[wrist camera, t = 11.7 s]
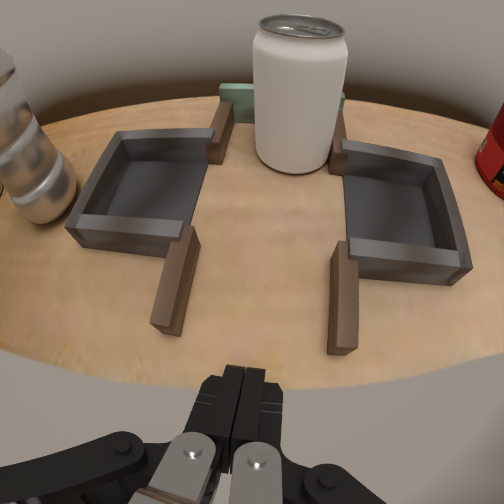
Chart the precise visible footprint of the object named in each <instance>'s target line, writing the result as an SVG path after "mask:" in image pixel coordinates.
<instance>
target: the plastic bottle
mask: <svg viewBox="0 0 504 504" xmlns="http://www.w3.org/2000/svg"><path fill="white" fill-rule="evenodd" d="M0 181H1V183H2V184H3V186H4V187H5V189H6V190H7V191H8V193H9V195H10V197H11V199H12V201H13V203H14V205H15V206H16V208H17V209H18V211H19V212H20V213H21V215H22V216H24V217H25V218H27V219H28V220H30V221H31V222H33V223H37V224H44V223H49V222H52V221H54V220H55V219H57V218H58V217H60V216H61V215H62V214H63V213H64V212H65V211H66V210H67V208H68V207H69V206H70V204H71V203H72V201H73V199H74V196H75V193H76V185H77V179H76V175H75V173H74V170H73V167H72V165H71V163H70V162H69V161H68V160H67V158H66V157H65V156H64V155H63V154H62V153H61V152H60V151H59V150H58V149H57V148H55V146H54V145H53V144H52V142H51V141H50V140H49V138H48V137H47V135H46V134H45V133H44V131H43V130H42V129H41V127H40V126H39V125H38V122H37V121H36V118H35V116H34V115H33V114H32V110H31V108H30V106H29V104H28V102H27V99H26V97H25V94H24V91H23V88H22V85H21V81H20V78H19V75H18V71H17V70H16V65H15V62H14V59H13V57H12V56H11V55H10V54H9V53H8V52H7V51H6V50H4V49H2V48H0Z"/></svg>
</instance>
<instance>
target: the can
mask: <svg viewBox="0 0 504 504" xmlns="http://www.w3.org/2000/svg"><path fill="white" fill-rule="evenodd" d="M259 26H260V29H259V31H258V33H257V34H256V36H255V38H254V41H253V72H254V73H253V76H254V110H255V140H256V151H257V154H258V156H259V157H260V159H261V160H262V161H263V162H264V163H265V164H267V165H268V166H270V167H271V168H273V169H275V170H277V171H280V172H283V173H288V174H304V173H308V172H311V171H314V170H316V169H318V168H320V167H321V166H322V165H323V164H324V163H325V162H326V161H327V159H328V156H329V152H330V148H331V143H332V139H333V134H334V129H335V124H336V119H337V114H338V109H339V104H340V99H341V94H342V88H343V82H344V77H345V70H346V65H347V57H348V49H347V46H346V43H345V41H344V38H343V35H344V34H345V30H344V28H343V27H341V26H340V25H338V24H336V23H334V22H332V21H329V20H326V19H323V18H319V17H314V16H308V15H298V14H283V15H282V14H281V15H274V16H268V17H265V18H263V19H261V20H260V21H259Z"/></svg>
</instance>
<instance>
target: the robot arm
mask: <svg viewBox="0 0 504 504" xmlns="http://www.w3.org/2000/svg"><path fill="white" fill-rule="evenodd" d="M2 189H3V184H2V183H1V181H0V194H1V192H2ZM245 370H246V373H245ZM265 370H266V369H260V368H251V367H247V368H246V367H242V366H234V365H226V367H225V370H224V373H223V377H220V376H214V375H211V376H210V377H208V378H207V379H206V380H205V381H204V382H203V383H202V385H201V388H200V391H199V394H198V396H197V398H196V402H195V403H194V406H193V408H192V411H191V414H190V416H189V419H188V421H187V424H186V426H185V429H184V431H183V433H182V434H180V435H178V436H176V437H175V438H174V439H173V440H172V441H170V442H167V443H143V442H142V440H141V439H140V438H139V437H138V436H136V435H135V434H133V433H130V432H125V431H120V432H114V433H111V434H109V435H106V436H104V437H101V438H98V439H96V440H93V441H90V442H87V443H84V444H81V445H78V446H76V447H72V448H69V449H66V450H63V451H60V452H57V453H54V454H51V455H47V456H43V457H40V458H37V459H33V460H29V461H25V462H21V463H17V464H13V465H9V466H4V467H0V504H212V502H213V500H214V497H215V494H216V491H217V487H218V484H219V480H220V476H221V473H227V474H228V471H229V467H230V474H232V480H231V489H230V498H229V504H386V503H385V502H384V501H383V500H381V499H380V498H378V497H377V496H376V495H375V494H373V493H372V492H371V491H370V490H369V489H367V488H366V487H365V486H364V485H363V484H361V483H360V482H359V481H358V480H356V479H355V478H354V477H353V476H352V475H350V474H349V473H348V472H347V471H346V470H344V469H343V468H342V467H340V466H337V465H334V464H320V465H317V466H315V467H313V468H308V467H305V466H301V465H298V464H296V463H293V462H291V461H290V460H289V459H287V458H286V457H285V456H284V454H283V453H282V450H281V447H280V440H281V424H282V403H283V392H282V390H281V388H280V386H279V384H278V383H269V382H264V378H265Z"/></svg>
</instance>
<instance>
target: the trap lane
mask: <svg viewBox="0 0 504 504" xmlns="http://www.w3.org/2000/svg"><path fill="white" fill-rule="evenodd" d="M219 94H220V103H219V106H218V108H217V111H216V113H215V116H214V118H213V121H212V123H211V126H210V128H180V129H149V130H132V131H118V132H116V133H115V135H114V136H113V138H112V139H111V141H110V142H109V144H108V146H107V147H106V149H105V150H104V152H103V154H102V155H101V157H100V159H99V160H98V162H97V164H96V166H95V167H94V169H93V171H92V173H91V174H90V176H89V178H88V180H87V182H86V184H85V185H84V187H83V189H82V191H81V193H80V195H79V197H78V199H77V201H76V203H75V205H74V207H73V209H72V211H71V213H70V215H69V217H68V219H67V222H66V224H65V226H64V228H65V229H66V230H67V231H68V232H69V233H70V234H71V235H72V236H73V238H74V239H75V240H76V241H77V242H78V243H79V244H80V245H81V246H82V247H84V248H92V249H100V250H107V251H115V252H123V253H132V254H140V255H148V256H156V257H165V258H166V261H165V264H164V268H163V271H162V275H161V279H160V282H159V286H158V290H157V294H156V298H155V302H154V306H153V310H152V314H151V318H150V322H149V323H150V324H151V325H153V326H154V327H155V328H156V329H158V330H159V331H160V332H162V333H163V334H168V335H173V336H179V337H181V332H182V327H183V322H184V318H185V313H186V308H187V303H188V299H189V294H190V290H191V285H192V281H193V277H194V272H195V268H196V264H197V259H198V255H199V251H200V247H201V245H200V242H199V240H198V237H197V234H196V231H195V228H194V226H190V223H191V220H192V216H193V213H194V209H195V206H196V202H197V199H198V196H199V192H200V189H201V186H202V183H203V180H204V176H205V173H206V170H207V167H208V164H221V165H222V163H223V160H224V156H225V153H226V149H227V146H228V142H229V139H230V136H231V132H232V129H233V126H234V122H246V123H255V110H254V84H221V85H220V87H219ZM344 101H345V96H344V93H342V94H341V99H340V104H339V109H338V114H337V119H336V124H335V129H334V134H333V139H332V143H331V148H330V152H329V156H328V166H329V174H333V175H340V176H343V184H344V198H345V214H346V234H347V241H338V243H337V245H336V248H335V250H334V252H333V255H332V257H331V265H330V304H329V326H328V343H327V354H328V355H347V354H349V353H350V352H352V351H354V350H355V349H357V348H358V330H359V279H358V278H365V279H376V280H387V281H399V282H410V283H422V284H435V285H447V286H452V285H454V284H455V283H456V282H457V281H459V280H460V279H461V278H462V277H463V276H465V275H466V274H467V273H468V272H469V271H471V270H472V269H473V265H472V260H471V256H470V251H469V247H468V242H467V238H466V234H465V230H464V227H463V223H462V219H461V216H460V212H459V209H458V206H457V202H456V199H455V196H454V193H453V190H452V187H451V184H450V181H449V178H448V176H447V173H446V170H445V168H444V165H443V162H442V160H441V159H438V158H434V157H430V156H426V155H422V154H418V153H413V152H409V151H405V150H400V149H395V148H390V147H385V146H380V145H375V144H369V143H363V142H357V141H351V140H347V137H346V130H345V124H344V118H343V112H342V110H343V106H344Z"/></svg>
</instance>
